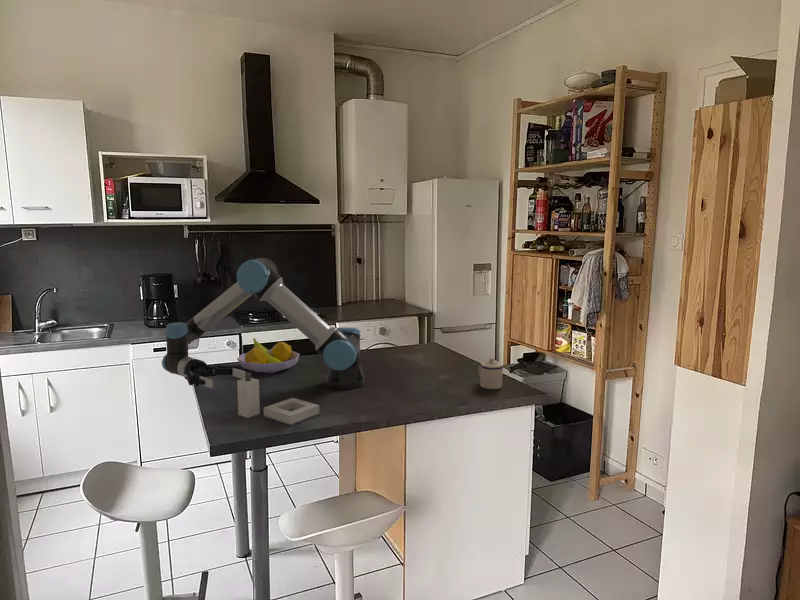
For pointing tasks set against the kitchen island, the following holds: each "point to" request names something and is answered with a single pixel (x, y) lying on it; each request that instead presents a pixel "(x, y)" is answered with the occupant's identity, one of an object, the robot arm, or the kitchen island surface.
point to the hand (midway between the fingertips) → (229, 379)
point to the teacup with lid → (491, 374)
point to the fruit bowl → (268, 358)
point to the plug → (248, 396)
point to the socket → (291, 411)
